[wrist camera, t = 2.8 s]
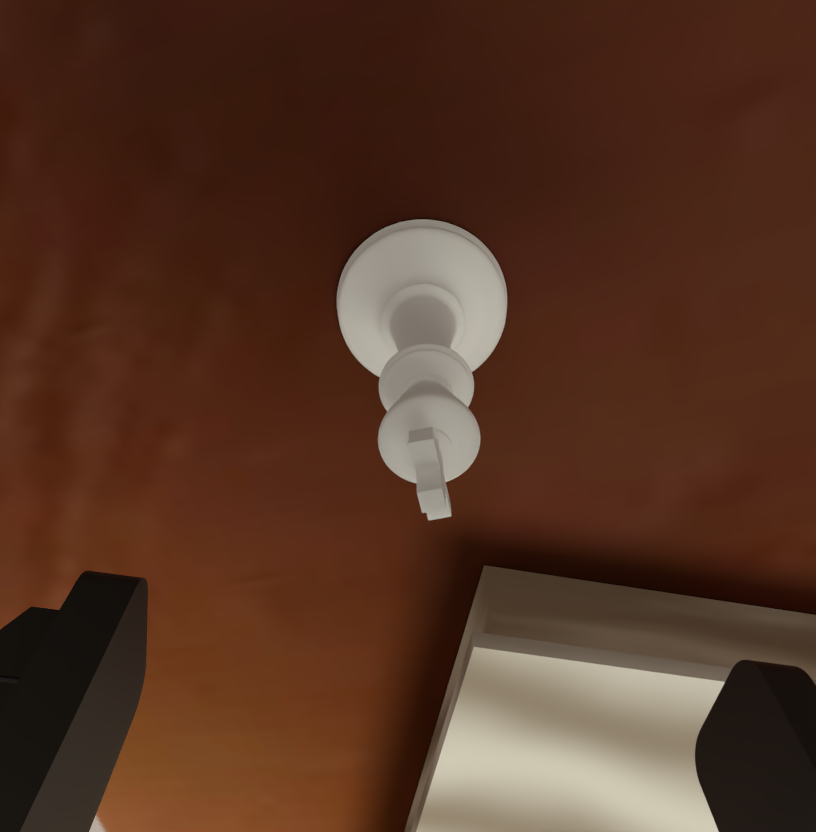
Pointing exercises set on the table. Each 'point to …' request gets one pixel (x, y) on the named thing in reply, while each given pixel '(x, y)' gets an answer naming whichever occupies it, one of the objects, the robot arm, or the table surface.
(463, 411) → the chess piece
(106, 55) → the table surface
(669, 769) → the stand
